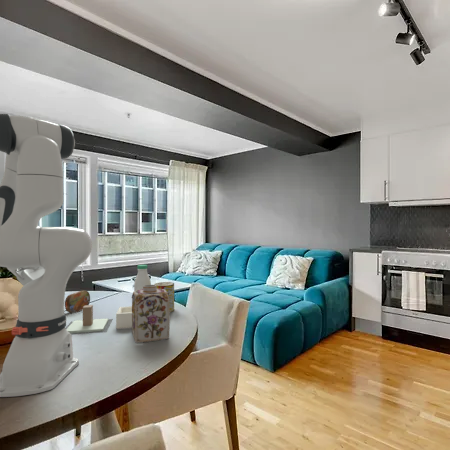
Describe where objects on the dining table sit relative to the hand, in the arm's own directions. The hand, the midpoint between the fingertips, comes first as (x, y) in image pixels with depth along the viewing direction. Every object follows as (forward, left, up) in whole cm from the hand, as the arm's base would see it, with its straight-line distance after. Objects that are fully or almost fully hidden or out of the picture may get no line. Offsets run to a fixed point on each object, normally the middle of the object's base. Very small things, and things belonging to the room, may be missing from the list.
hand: (54, 291), depth 120 cm
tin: (+27, -2, -15) cm, 31 cm away
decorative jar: (-14, -35, -15) cm, 41 cm away
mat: (0, -12, -14) cm, 18 cm away
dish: (0, -28, -14) cm, 31 cm away
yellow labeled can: (+19, -41, -15) cm, 47 cm away
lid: (0, -12, -14) cm, 18 cm away
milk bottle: (+26, -31, -15) cm, 43 cm away
